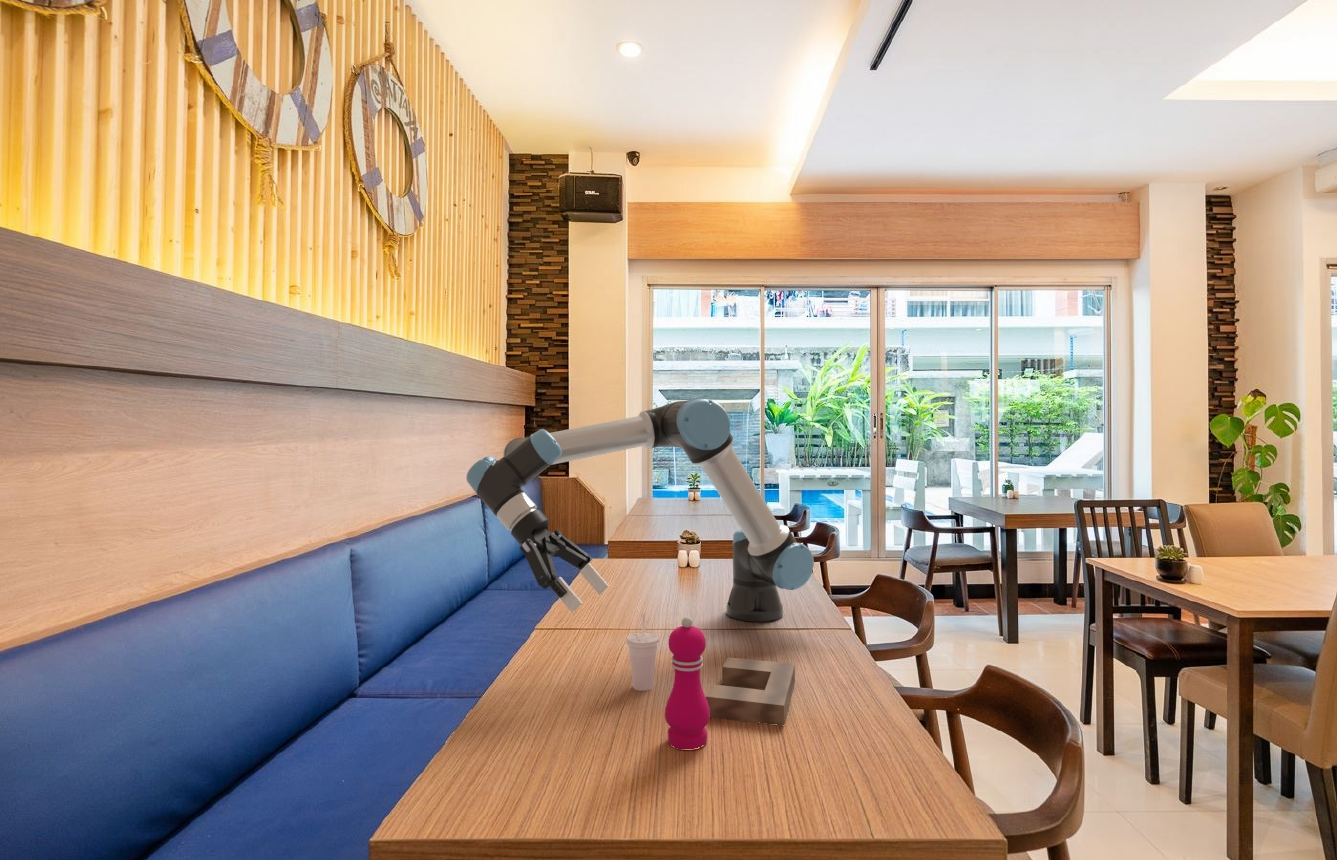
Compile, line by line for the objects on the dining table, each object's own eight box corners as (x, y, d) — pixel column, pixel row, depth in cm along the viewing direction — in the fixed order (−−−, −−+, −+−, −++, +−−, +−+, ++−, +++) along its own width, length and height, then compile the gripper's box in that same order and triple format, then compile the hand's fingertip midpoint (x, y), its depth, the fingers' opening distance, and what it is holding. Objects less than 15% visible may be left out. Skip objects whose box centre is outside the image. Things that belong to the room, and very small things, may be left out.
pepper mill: (695, 757, 97) (695, 626, 97) (656, 745, 101) (655, 619, 101) (717, 738, 104) (717, 614, 104) (679, 727, 107) (679, 608, 107)
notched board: (706, 716, 111) (705, 696, 111) (727, 674, 130) (727, 657, 131) (784, 726, 108) (784, 705, 108) (794, 681, 127) (794, 663, 127)
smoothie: (663, 683, 126) (663, 612, 126) (652, 695, 120) (652, 621, 120) (633, 679, 128) (633, 609, 128) (621, 691, 122) (620, 618, 122)
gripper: (541, 524, 144) (602, 595, 140) (478, 542, 120) (550, 629, 116) (562, 501, 143) (625, 572, 138) (503, 515, 119) (577, 602, 115)
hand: (591, 598), depth 127 cm, fingers open, 13 cm apart
